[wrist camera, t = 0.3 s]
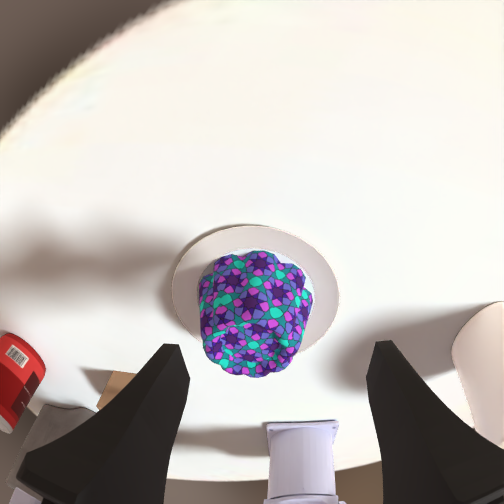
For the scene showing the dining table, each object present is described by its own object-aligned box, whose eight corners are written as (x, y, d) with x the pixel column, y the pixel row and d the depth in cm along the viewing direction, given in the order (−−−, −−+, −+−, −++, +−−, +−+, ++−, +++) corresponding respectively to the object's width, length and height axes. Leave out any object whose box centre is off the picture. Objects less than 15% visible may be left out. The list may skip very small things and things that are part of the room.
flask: (61, 423, 39) (23, 509, 21) (39, 402, 37) (-5, 491, 19) (117, 429, 36) (78, 541, 18) (91, 407, 33) (42, 525, 16)
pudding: (287, 186, 18) (290, 220, 13) (361, 320, 22) (375, 371, 18) (143, 270, 22) (113, 315, 17) (233, 369, 26) (225, 418, 21)
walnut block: (169, 403, 30) (157, 440, 25) (130, 397, 30) (116, 431, 26) (155, 375, 27) (140, 415, 23) (113, 369, 28) (96, 406, 23)
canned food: (-5, 326, 28) (-47, 381, 18) (31, 337, 28) (-15, 403, 18) (19, 366, 32) (-15, 420, 22) (56, 379, 31) (21, 442, 21)
